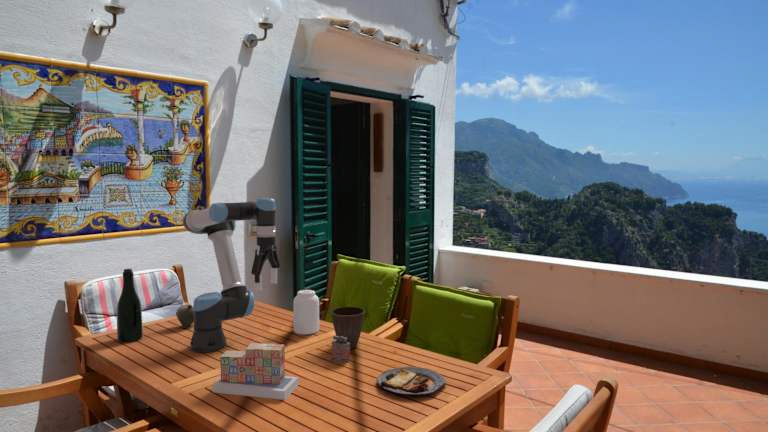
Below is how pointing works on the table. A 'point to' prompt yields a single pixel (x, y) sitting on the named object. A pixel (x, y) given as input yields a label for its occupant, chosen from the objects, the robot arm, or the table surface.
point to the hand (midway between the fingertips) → (266, 286)
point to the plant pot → (348, 323)
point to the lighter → (340, 349)
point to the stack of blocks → (254, 364)
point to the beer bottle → (129, 311)
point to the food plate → (410, 380)
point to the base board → (258, 388)
